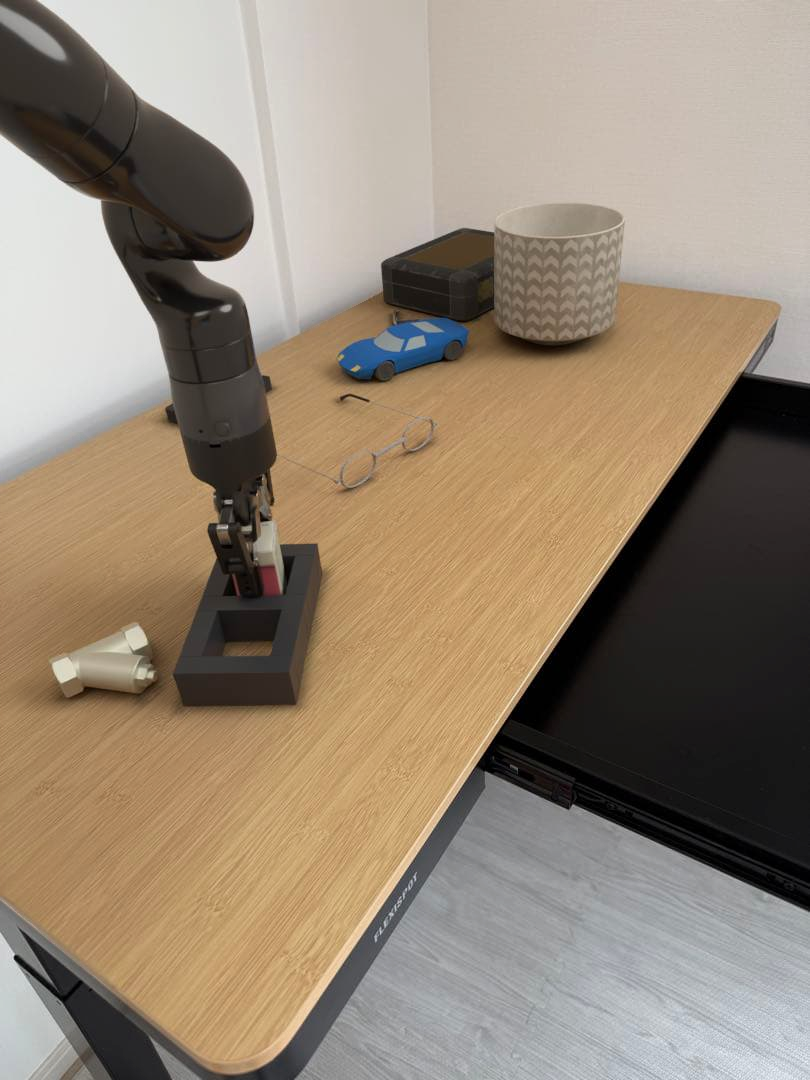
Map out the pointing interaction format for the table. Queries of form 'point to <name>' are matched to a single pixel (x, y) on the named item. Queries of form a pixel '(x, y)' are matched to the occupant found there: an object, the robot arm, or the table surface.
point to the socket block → (251, 637)
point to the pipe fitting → (108, 664)
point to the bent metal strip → (401, 320)
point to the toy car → (403, 348)
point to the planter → (557, 271)
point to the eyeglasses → (379, 451)
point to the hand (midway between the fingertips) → (258, 573)
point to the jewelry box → (444, 275)
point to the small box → (269, 560)
